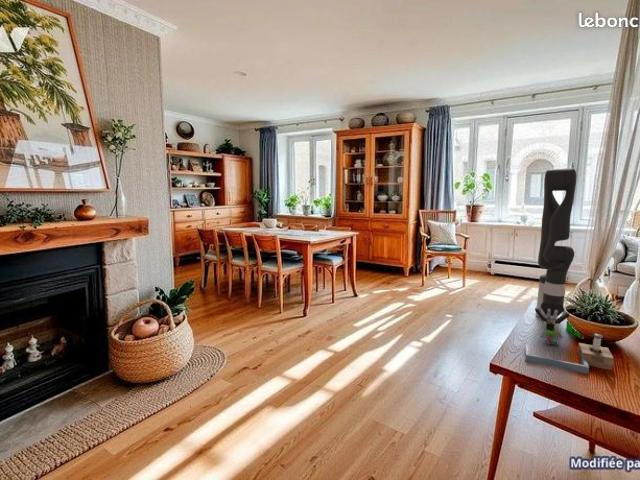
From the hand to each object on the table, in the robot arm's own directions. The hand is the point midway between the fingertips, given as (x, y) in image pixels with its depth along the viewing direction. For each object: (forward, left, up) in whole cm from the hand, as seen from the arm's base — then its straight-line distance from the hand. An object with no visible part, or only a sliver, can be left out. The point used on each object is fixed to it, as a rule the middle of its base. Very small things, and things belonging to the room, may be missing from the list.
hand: (549, 331), depth 153 cm
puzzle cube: (-10, +14, -3) cm, 18 cm away
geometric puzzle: (+8, 0, -3) cm, 8 cm away
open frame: (+23, 0, -2) cm, 23 cm away
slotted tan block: (+17, +13, -2) cm, 21 cm away
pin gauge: (+17, +13, -3) cm, 21 cm away
